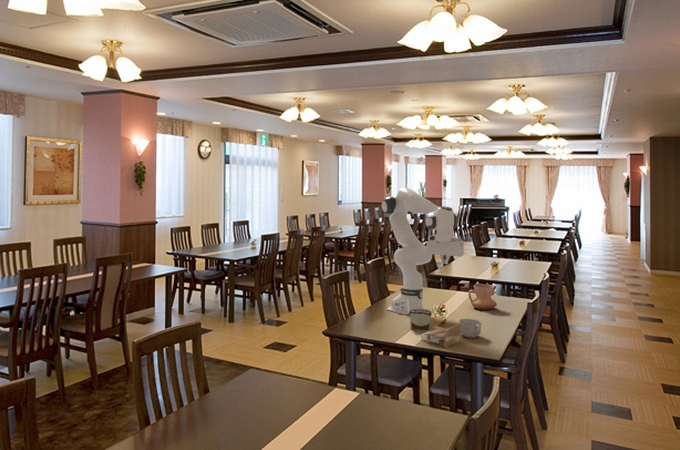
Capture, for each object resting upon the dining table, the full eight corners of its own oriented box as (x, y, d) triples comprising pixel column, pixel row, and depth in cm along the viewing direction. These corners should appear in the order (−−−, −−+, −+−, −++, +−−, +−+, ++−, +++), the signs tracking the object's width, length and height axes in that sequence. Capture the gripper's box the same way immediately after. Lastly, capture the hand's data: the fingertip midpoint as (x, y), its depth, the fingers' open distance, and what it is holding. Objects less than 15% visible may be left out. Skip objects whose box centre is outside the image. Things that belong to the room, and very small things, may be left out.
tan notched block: (421, 342, 246) (421, 325, 246) (434, 335, 257) (435, 319, 257) (447, 347, 238) (447, 330, 237) (460, 340, 249) (460, 324, 248)
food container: (433, 328, 271) (434, 309, 270) (431, 331, 265) (432, 312, 264) (410, 326, 275) (410, 307, 274) (408, 329, 269) (408, 310, 268)
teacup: (456, 333, 261) (456, 317, 261) (477, 332, 262) (477, 317, 262) (465, 341, 248) (465, 325, 247) (487, 341, 249) (487, 324, 248)
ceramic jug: (500, 307, 317) (500, 285, 317) (494, 312, 305) (495, 288, 304) (471, 304, 326) (471, 282, 326) (465, 309, 314) (465, 286, 313)
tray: (421, 340, 250) (421, 334, 250) (428, 336, 256) (428, 331, 256) (447, 346, 242) (447, 339, 241) (454, 342, 248) (454, 335, 248)
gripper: (466, 238, 266) (465, 264, 267) (430, 235, 278) (430, 261, 279) (461, 239, 261) (460, 266, 262) (425, 236, 273) (424, 262, 274)
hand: (444, 263), depth 270 cm, fingers closed
